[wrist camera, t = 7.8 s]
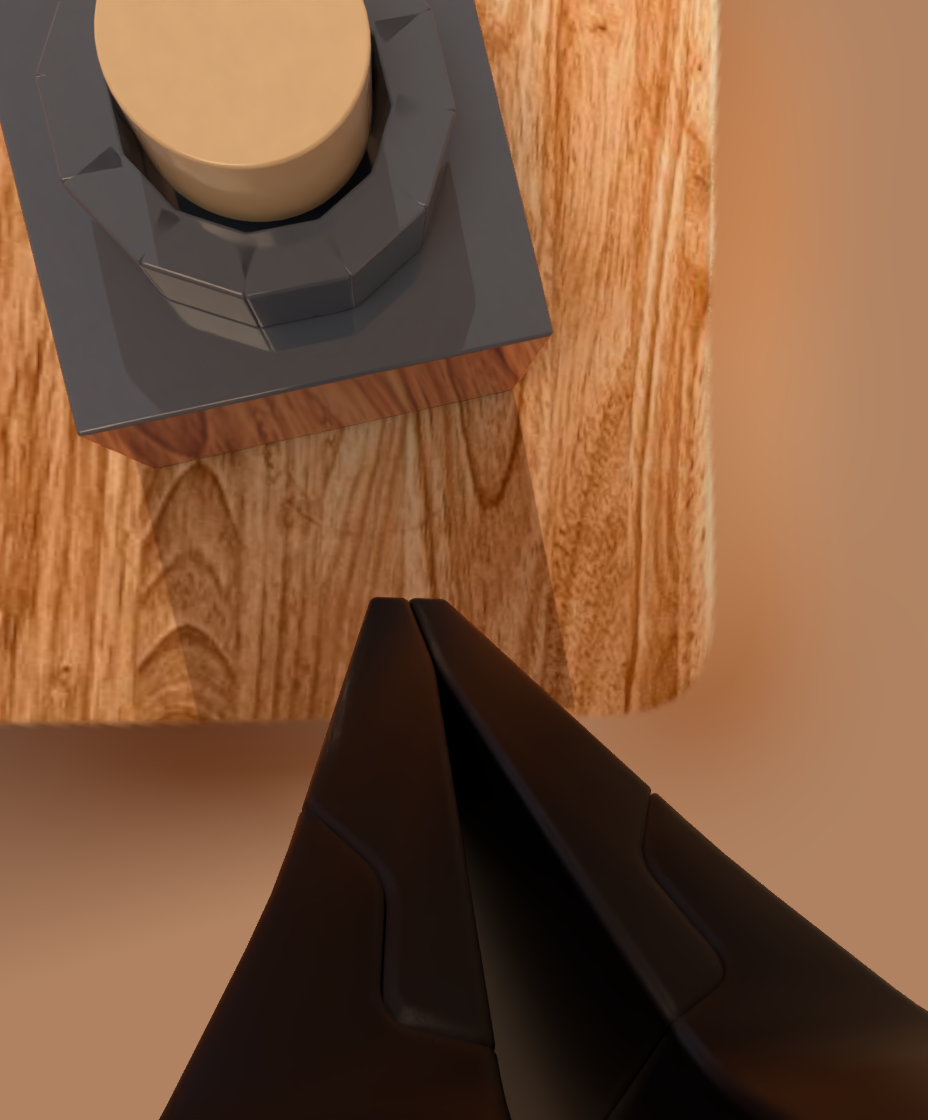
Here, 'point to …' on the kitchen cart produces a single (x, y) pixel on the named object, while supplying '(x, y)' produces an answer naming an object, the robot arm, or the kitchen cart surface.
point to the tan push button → (243, 96)
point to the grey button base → (273, 251)
